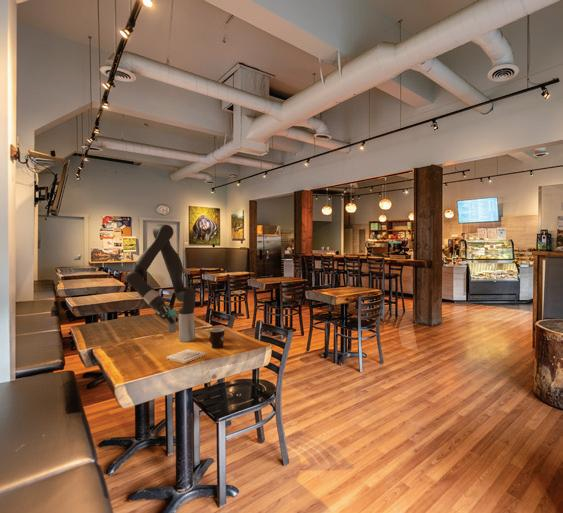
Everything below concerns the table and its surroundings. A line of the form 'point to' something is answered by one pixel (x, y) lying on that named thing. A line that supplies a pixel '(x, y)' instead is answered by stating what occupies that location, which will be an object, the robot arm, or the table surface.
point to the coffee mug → (217, 338)
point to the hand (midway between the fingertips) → (175, 321)
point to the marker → (173, 326)
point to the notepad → (185, 356)
